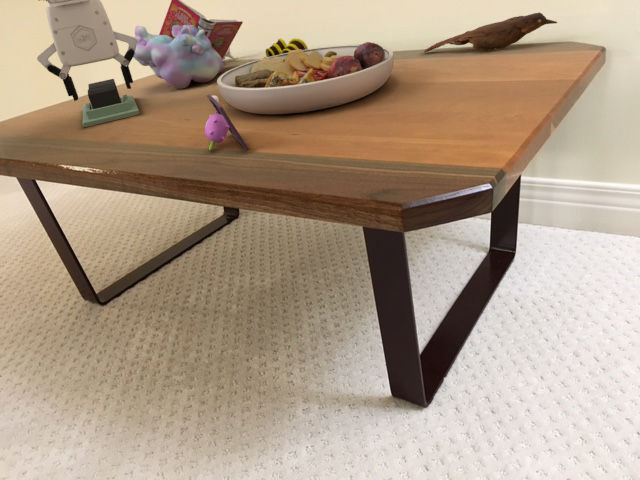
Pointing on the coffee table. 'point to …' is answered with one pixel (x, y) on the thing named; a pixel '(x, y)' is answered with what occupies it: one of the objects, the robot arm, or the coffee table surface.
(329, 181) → the coffee table surface
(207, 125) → the purple panel with bulb
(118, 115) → the dock
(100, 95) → the gripped black block
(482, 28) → the bird sculpture
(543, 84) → the coffee table surface
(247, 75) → the bowl
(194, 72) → the marbled pastel blob
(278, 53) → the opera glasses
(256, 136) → the coffee table surface
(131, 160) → the coffee table surface
